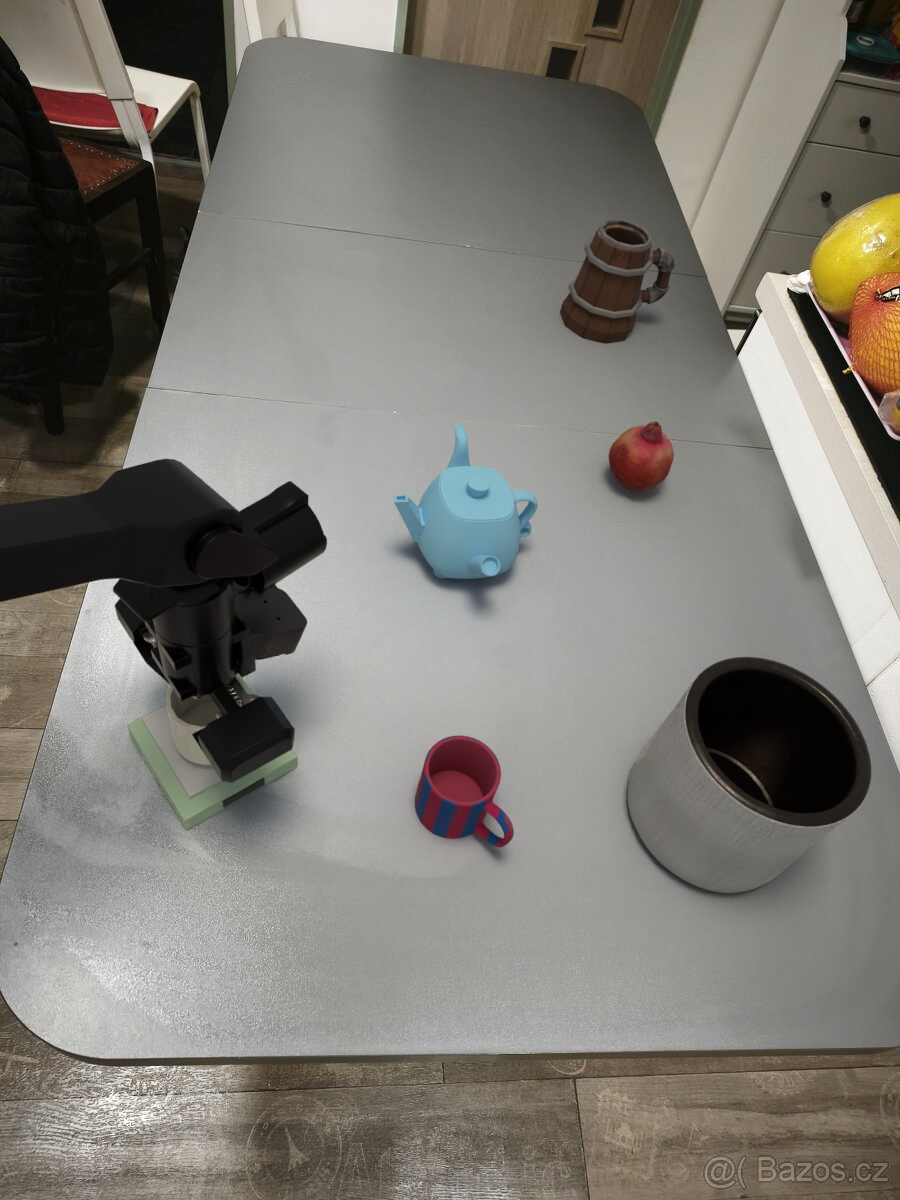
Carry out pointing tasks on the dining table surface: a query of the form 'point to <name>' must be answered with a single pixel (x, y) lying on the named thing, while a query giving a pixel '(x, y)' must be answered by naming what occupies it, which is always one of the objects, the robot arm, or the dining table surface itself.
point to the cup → (461, 790)
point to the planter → (747, 775)
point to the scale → (196, 771)
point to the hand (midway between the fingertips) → (209, 724)
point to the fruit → (641, 457)
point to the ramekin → (191, 722)
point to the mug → (614, 282)
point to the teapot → (468, 518)
